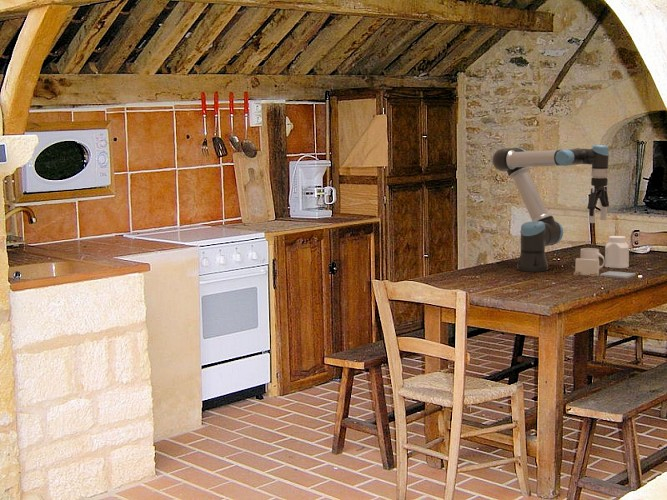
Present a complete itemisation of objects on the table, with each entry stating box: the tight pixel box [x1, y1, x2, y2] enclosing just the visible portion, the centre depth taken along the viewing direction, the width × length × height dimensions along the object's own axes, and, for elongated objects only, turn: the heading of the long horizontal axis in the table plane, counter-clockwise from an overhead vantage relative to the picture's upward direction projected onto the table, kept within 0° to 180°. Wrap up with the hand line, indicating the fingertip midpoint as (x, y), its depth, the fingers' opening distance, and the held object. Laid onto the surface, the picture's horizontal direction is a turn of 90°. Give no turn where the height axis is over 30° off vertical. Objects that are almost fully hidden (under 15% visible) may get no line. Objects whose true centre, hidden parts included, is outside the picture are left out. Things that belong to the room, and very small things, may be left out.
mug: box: [579, 247, 605, 270], centre depth 458 cm, size 9×12×11 cm
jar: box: [604, 235, 630, 269], centre depth 471 cm, size 12×10×15 cm
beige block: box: [573, 257, 600, 278], centre depth 446 cm, size 11×5×8 cm, turn 51°
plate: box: [599, 270, 637, 280], centre depth 444 cm, size 13×11×1 cm
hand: (597, 221), depth 455 cm, fingers open, 13 cm apart
